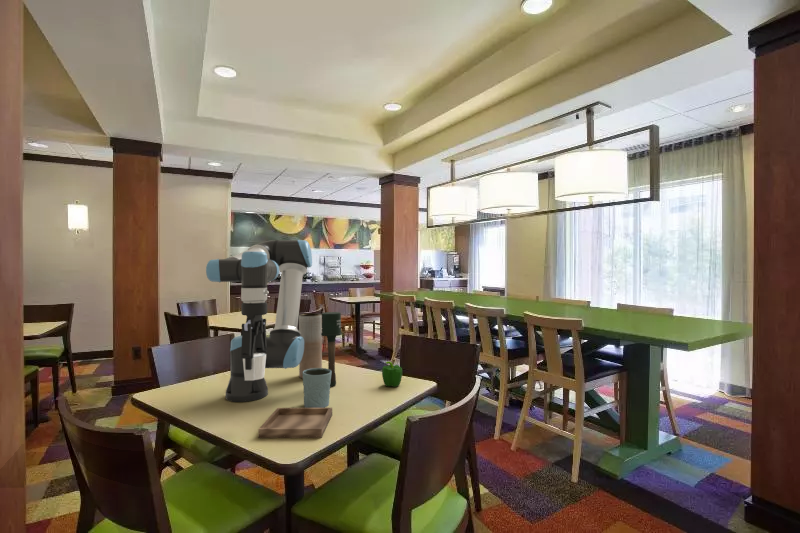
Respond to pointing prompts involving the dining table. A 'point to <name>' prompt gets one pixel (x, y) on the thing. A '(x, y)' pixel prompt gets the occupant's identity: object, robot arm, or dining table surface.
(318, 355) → the vase
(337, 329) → the stick grenade
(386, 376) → the bell pepper
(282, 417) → the tray
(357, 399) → the dining table surface
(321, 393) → the blue cup
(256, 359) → the white cup
